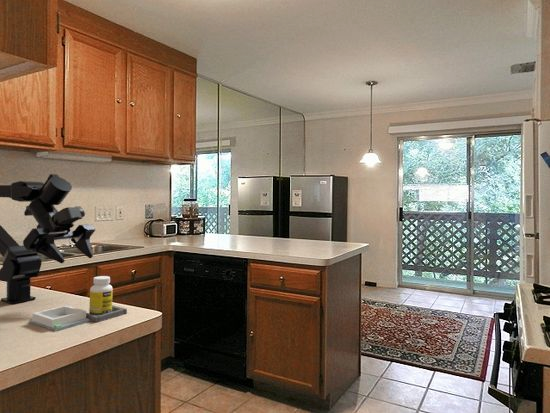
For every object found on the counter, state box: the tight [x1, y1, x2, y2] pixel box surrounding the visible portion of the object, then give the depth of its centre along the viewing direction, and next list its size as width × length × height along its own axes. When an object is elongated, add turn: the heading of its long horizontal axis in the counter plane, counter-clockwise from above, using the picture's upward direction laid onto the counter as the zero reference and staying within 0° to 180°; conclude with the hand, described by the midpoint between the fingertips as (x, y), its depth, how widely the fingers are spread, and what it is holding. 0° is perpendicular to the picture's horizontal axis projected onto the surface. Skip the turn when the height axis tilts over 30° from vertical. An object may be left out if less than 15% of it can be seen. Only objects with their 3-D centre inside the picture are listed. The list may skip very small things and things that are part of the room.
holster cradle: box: [86, 304, 128, 323], centre depth 102 cm, size 9×9×1 cm
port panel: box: [28, 304, 90, 332], centre depth 95 cm, size 11×8×2 cm
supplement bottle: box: [88, 275, 114, 316], centre depth 102 cm, size 5×5×10 cm
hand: (78, 259), depth 104 cm, fingers open, 9 cm apart
